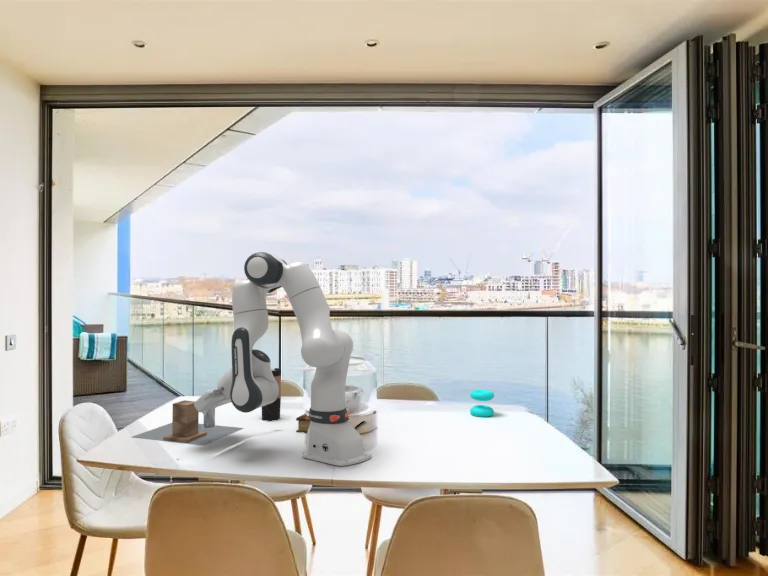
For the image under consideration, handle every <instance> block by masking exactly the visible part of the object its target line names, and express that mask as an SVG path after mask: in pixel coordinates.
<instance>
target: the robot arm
mask: <svg viewBox="0 0 768 576" xmlns="http://www.w3.org/2000/svg"><path fill="white" fill-rule="evenodd" d="M243 270H244V271H243V272H244V274H245V276H246V278H244V279H241V280H239V281H237V282H236V283H235V284H234V285H233V287H232V294H231V303H232V304H231V306H232V315H233V334H232V335H231V348H230V349H231V368H229V369H227V370H226V372H224V373H223V375H222V376H220V377H219V378H218V380H217V382H216V386H217V387H214V388H211V389H209V390H207V391H205V392H204V393H203V394H201V396H199V397H198V399H197V400H195V401H196V402H195V403H194V407H195V408H196V409H197V411H198V412H199V413H202V415H204V414H207V413H210V412H211V411H212V410H213V409H215V410H216V408H218V407H221V406H223V405H227V404H230V403H231V404H232V406H233V407H234V409H236V410H237V411H238V412H241V413H246V414H247V413H252V411H255V410H256V409H259V408H262V406H265V405H268V404H270V403H273V402H274V401H275V400H276V399H277V398H278V395H279V385H278V382H277V381H276V380H275V378H274V376H273V374H272V371H271V369H272V368H271V358H270V357H269V355H267V353H265V352H264V351H262V350H260V349H255V348H254V345H256V343H257V342H258V340H260V339H261V338H262V337H264V335H265V334H266V332H267V331H268V329H269V312H268V306H267V301H266V300H267V299H266V298H267V294H271V293H273V292H275V291H276V290H279V289H281V288H283V290H284V292H285V294H286V296H287V298H288V301H289V303H290V306H291V308H292V310H293V313H294V316H295V318H296V320H297V324H298V326H299V331H300V335H301V336H300V338H301V348H300V349H301V350H300V354H301V355H300V356H301V358H302V360H303V362H305V364H306V365H308V366H309V367H312V368H316V369H315V372H314V376H313V379H312V380H311V383H310V407H309V409H308V410H309V411H308V412H309V420H310V425H309V428H308V432H307V433H306V441H305V451H304V452H303V455H302V458H303V459H307V460H308V459H309V460H311V461H316V462H320V463H323V464H329V465H332V466H336V467H337V466H338V467H342V466H343V467H344V466H352V465H355V464H360V463H363V462H365V461H367V460H370V459H371V457H372V453H370V452H368V451H366V450H365V448H364V447H365V446H364V440H363V439H364V438H363V437H362V435H361V434H360V433H359V432H358V431H357V430H356V427H355V428H354V427H353V426H352V425H351V424H350V422H349V421H348V420H349V418H348V417H349V416H348V415H349V414H351V413H347V410H346V408H345V407H346V384H347V376H348V371H349V366H350V365H349V364H350V360H351V355H352V352H353V349H354V342H353V341H354V340H353V339H352V337H351V336H350V334H348V333H347V332H345V331H341V330H338V329H333V327H332V323H331V318H330V314H331V309H330V306H329V304H328V302H327V301H328V300H327V299H326V296H325V295H324V292H323V290H322V288H321V286H320V284H319V281H318V279H317V277H316V276H315V274H314V272H313V271H312V269H311V268H310V266H309V265H308V264H307V263H306V262H303V261H295V262H292V263H287V262H286V261H285V260H284V259H281V258H280V257H278V256H276V255H275V254H272V253H268V252H265V251H260V252H255V253H251V254H250V256H248V257H247V258H246V260H245V262H244V265H243Z"/></svg>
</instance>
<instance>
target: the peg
mask: <svg viewBox="0 0 768 576" xmlns="http://www.w3.org/2000/svg"><path fill="white" fill-rule="evenodd" d="M203 424H204V428H214V427H215V425H216V408H215V409H213V410H212V411H211V412H210V413H207V414H203Z"/></svg>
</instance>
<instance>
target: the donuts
mask: <svg viewBox="0 0 768 576" xmlns="http://www.w3.org/2000/svg"><path fill="white" fill-rule="evenodd" d="M469 396H470V398H471V399H473V400H474V401H479V402H488V401H492V400H493V399H494V397H495V393H494V392H493V391H491V390H489V389H488V390H487V389H473V390H471V391H470V394H469ZM469 412H470V414H471V416H474V417H478V418H479V417H480V418H488V417H491V416H493V415H494V414H495V411H494V408H493V407H491V406H489V405H483V404H477V405H473V406H472V407H470V410H469Z"/></svg>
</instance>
